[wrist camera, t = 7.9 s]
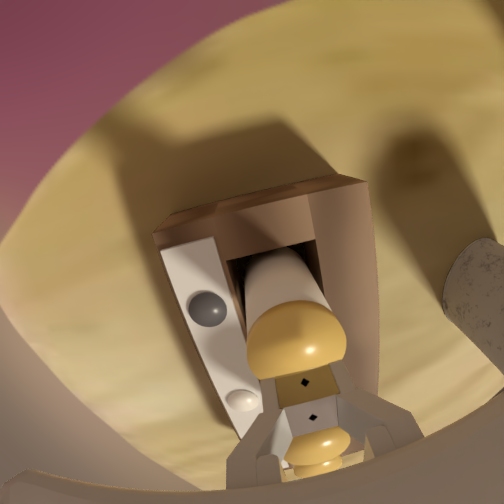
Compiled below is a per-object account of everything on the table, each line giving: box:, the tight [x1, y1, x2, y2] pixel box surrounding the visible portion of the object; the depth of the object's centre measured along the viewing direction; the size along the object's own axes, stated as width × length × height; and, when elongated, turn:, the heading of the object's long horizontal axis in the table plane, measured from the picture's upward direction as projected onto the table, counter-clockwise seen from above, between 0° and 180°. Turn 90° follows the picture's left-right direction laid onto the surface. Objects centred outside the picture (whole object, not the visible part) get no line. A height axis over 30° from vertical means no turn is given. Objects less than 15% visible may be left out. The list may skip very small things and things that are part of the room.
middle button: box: [283, 426, 350, 465], centre depth 18 cm, size 4×4×8 cm
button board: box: [152, 174, 379, 470], centre depth 22 cm, size 12×26×5 cm, turn 14°
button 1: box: [244, 247, 346, 380], centre depth 15 cm, size 4×4×8 cm
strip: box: [160, 236, 289, 468], centre depth 19 cm, size 3×24×1 cm, turn 14°
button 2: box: [293, 455, 342, 478], centre depth 23 cm, size 4×4×8 cm
